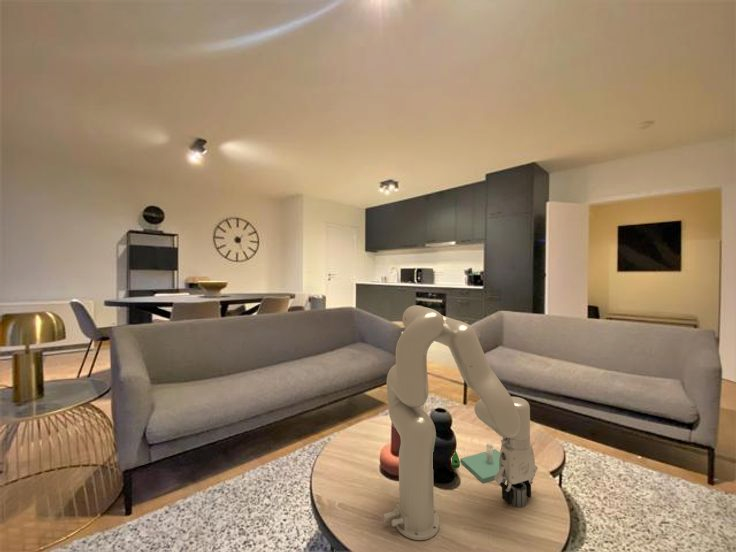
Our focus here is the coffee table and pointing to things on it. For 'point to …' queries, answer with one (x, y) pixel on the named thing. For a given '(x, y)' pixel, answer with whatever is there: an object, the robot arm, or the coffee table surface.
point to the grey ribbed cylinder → (519, 494)
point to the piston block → (483, 464)
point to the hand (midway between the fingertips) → (516, 497)
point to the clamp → (455, 461)
